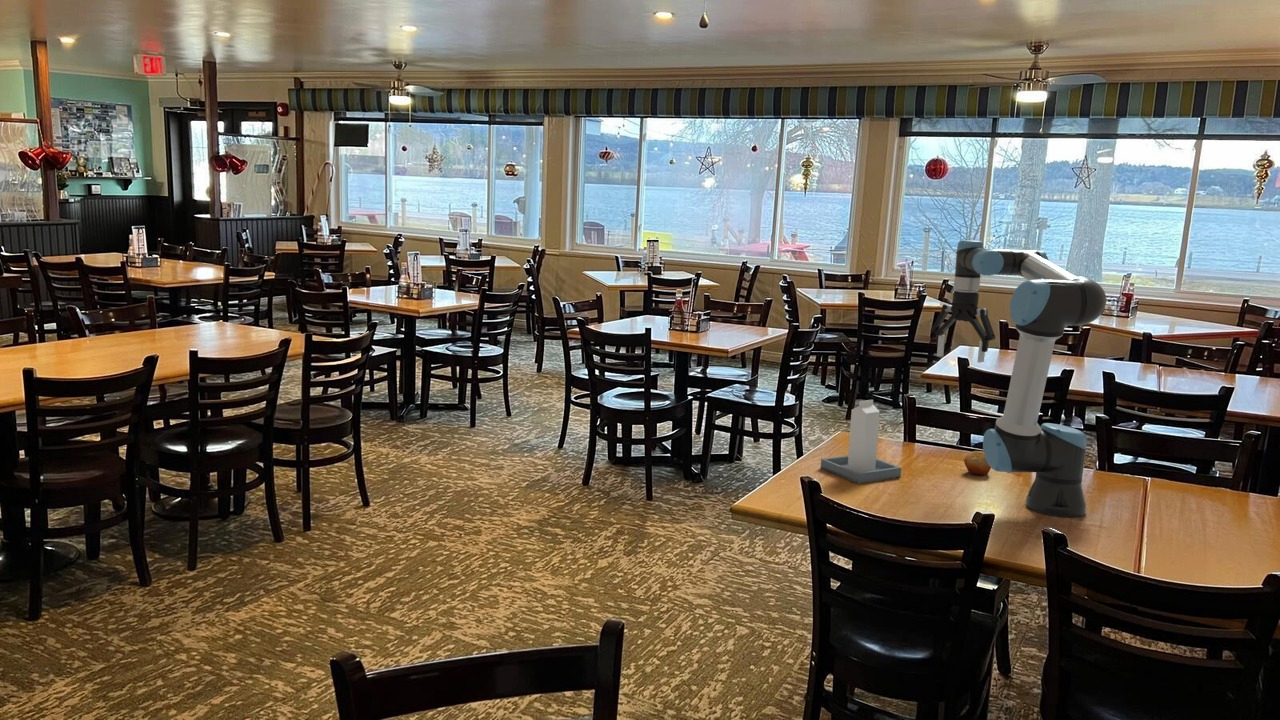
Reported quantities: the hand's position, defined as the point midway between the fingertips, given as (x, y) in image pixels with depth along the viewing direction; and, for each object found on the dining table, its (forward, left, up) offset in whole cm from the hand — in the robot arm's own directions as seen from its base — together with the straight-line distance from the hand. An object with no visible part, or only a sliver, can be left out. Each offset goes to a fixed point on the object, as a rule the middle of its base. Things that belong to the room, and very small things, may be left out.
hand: (960, 359), depth 291 cm
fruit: (-9, -2, -35) cm, 36 cm away
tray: (+6, +32, -35) cm, 48 cm away
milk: (+6, +32, -34) cm, 47 cm away
